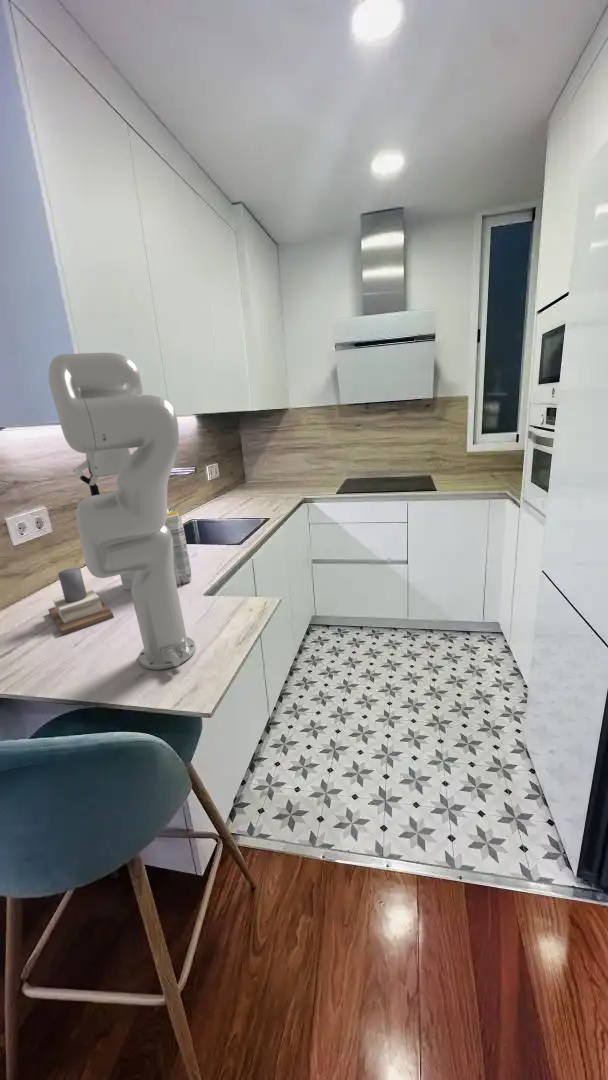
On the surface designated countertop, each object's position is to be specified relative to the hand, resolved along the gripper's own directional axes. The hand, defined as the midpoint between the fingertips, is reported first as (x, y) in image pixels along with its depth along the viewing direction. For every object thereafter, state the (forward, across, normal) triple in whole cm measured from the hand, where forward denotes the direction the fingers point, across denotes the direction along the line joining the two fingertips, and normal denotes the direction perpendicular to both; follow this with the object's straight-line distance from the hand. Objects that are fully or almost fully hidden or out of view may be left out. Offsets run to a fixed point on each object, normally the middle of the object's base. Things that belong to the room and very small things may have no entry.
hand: (117, 496), depth 115 cm
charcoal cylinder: (+28, -14, +11) cm, 33 cm away
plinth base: (+33, -14, +11) cm, 38 cm away
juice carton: (+34, +16, +12) cm, 39 cm away
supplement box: (+34, +6, +20) cm, 39 cm away
